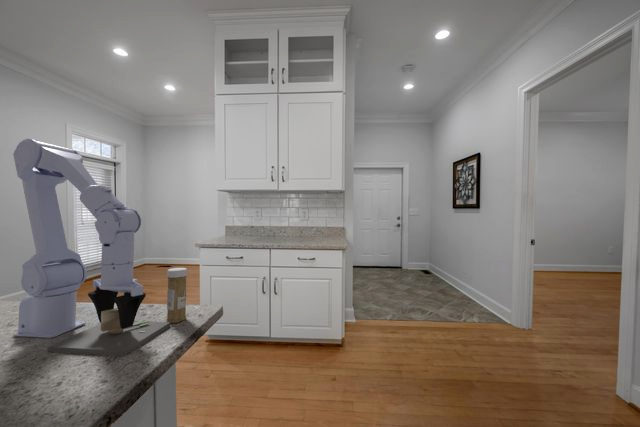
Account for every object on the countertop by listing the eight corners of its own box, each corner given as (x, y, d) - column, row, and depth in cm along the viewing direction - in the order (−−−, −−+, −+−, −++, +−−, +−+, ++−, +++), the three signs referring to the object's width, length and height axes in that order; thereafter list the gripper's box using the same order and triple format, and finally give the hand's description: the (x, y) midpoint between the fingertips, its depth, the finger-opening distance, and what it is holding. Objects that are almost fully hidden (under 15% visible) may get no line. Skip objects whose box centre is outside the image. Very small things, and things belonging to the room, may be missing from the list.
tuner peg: (103, 337, 56) (103, 313, 56) (100, 333, 57) (100, 310, 58) (151, 324, 63) (151, 303, 63) (147, 321, 64) (147, 301, 65)
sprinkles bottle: (187, 321, 68) (188, 269, 69) (166, 324, 66) (168, 271, 66) (184, 315, 72) (186, 266, 72) (165, 318, 70) (166, 267, 70)
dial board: (47, 351, 52) (48, 345, 52) (109, 323, 66) (109, 318, 66) (124, 356, 51) (124, 349, 51) (170, 326, 65) (170, 321, 65)
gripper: (157, 262, 60) (155, 323, 60) (117, 258, 65) (115, 313, 65) (123, 268, 53) (121, 335, 53) (82, 262, 59) (80, 323, 59)
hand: (116, 324), depth 59 cm, fingers open, 7 cm apart
